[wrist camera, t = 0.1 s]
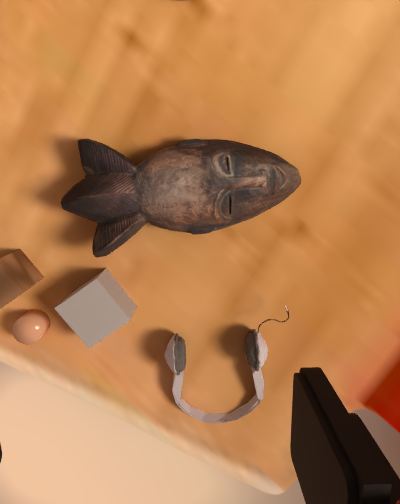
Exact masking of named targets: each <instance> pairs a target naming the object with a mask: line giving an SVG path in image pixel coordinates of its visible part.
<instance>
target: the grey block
mask: <svg viewBox="0 0 400 504" xmlns="http://www.w3.org/2000/svg"><path fill="white" fill-rule="evenodd" d="M136 307H137V306H136V304H135V303H134V302H133V301H132V299H131V298H130V297H129V296H128V294H127V293H126V292H125V291H124V289H123V288H122V287H121V286H120V284H119V283H118V282H117V281H116V280H115V278H114V277H113V276H112V275H111V273H110V272H109V271H108V270H107V268H106V269H104V270H103V271H102V272H100V273H99V274H97V275H96V276H95V277H93V278H92V279H90V280H89V281H88V282H86V283H85V284H83V285H82V286H80V287H79V288H78V289H76V290H75V291H73V292H72V293H71V294H69V295H68V296H67V297H66V298H65V299H64V300H63V301H62V302H61V303H60V304H58V305H57V306H56V307H55V308H54V309H55V310H56V311H57V312H58V313H59V315H60V316H61V317H62V318H63V319H64V320H65V322H66V323H67V324H68V325H69V326H70V327H71V328H72V330H73V331H74V332H75V333H76V334H77V335H78V337H79V338H80V339H81V340H82V341H83V342H84V344H85V345H86V346H87V347H88V348H90V347H92V346H93V345H95V344H96V343H98V342H99V341H101V340H102V339H104V338H105V337H107V336H108V335H110V334H111V333H113V332H114V331H116V330H117V329H119V328H120V327H121V326H123V325H124V324H126V323H127V322H129V321H130V320H131V318H132V316H133V314H134V311H135V309H136Z"/></svg>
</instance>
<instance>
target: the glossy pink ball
mask: <svg viewBox="0 0 400 504" xmlns="http://www.w3.org/2000/svg"><path fill="white" fill-rule="evenodd" d="M49 327H50V320H49V317H48V316H47V315H46V313H44V312H43V311H41V310H37V309H32V310H29V311H27V312H26V313H25V314H24V315H22V316H21V317H20V318H19V319H18V320H16V321H15V322H14V324H13V326H12V334H13V336H14V338H15V339H16V340H17V341H18V342H20V343H22V344H27V345H29V344H34V343H36V342H37V341H38V340H39V339H40V338H41V337H42V336H43V335H44V334H45V333H46V332H47V330H48V329H49Z"/></svg>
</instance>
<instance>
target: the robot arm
mask: <svg viewBox="0 0 400 504" xmlns="http://www.w3.org/2000/svg"><path fill="white" fill-rule="evenodd" d="M291 457H292V461H293V464H294V468H295V471H296V474H297V477H298V480H299V483H300V486H301V490H302V493H303V496H304V499H305V502H306V504H400V479H399V477H398V476H397V474H396V473H395V471H394V470H393V468H392V467H391V465H390V463H389V462H388V460H387V459H386V457H385V456H384V454H383V453H382V451H381V449H380V448H379V447H378V445H377V443H376V442H375V440H374V439H373V437H372V436H371V434H370V432H369V431H368V429H367V428H366V426H365V425H364V423H363V422H362V420H361V419H360V417H359V416H358V415H357V414H355V413H348V412H347V410H346V408H345V407H344V405H343V403H342V402H341V400H340V399H339V397H338V395H337V394H336V392H335V390H334V389H333V387H332V385H331V384H330V382H329V381H328V379H327V377H326V376H325V374H324V372H323V371H322V369H321V368H319V367H315V368H301V369H300V373H294V380H293V402H292V424H291ZM1 458H2V451H1V445H0V462H1Z"/></svg>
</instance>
